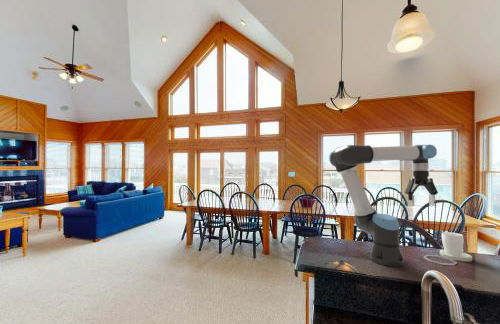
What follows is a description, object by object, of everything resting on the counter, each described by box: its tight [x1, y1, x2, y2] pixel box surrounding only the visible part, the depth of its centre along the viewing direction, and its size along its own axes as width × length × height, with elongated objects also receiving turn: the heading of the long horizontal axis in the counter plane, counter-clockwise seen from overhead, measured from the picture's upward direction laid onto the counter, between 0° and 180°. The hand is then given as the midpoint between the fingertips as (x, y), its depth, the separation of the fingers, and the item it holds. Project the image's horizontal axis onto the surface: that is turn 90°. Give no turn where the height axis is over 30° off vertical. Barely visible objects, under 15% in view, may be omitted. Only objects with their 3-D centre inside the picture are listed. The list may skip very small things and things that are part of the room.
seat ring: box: [423, 254, 458, 267], centre depth 115 cm, size 12×12×1 cm
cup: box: [441, 231, 465, 257], centre depth 120 cm, size 9×9×12 cm
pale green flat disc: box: [439, 249, 473, 262], centre depth 120 cm, size 13×13×2 cm
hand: (421, 205), depth 131 cm, fingers open, 13 cm apart
